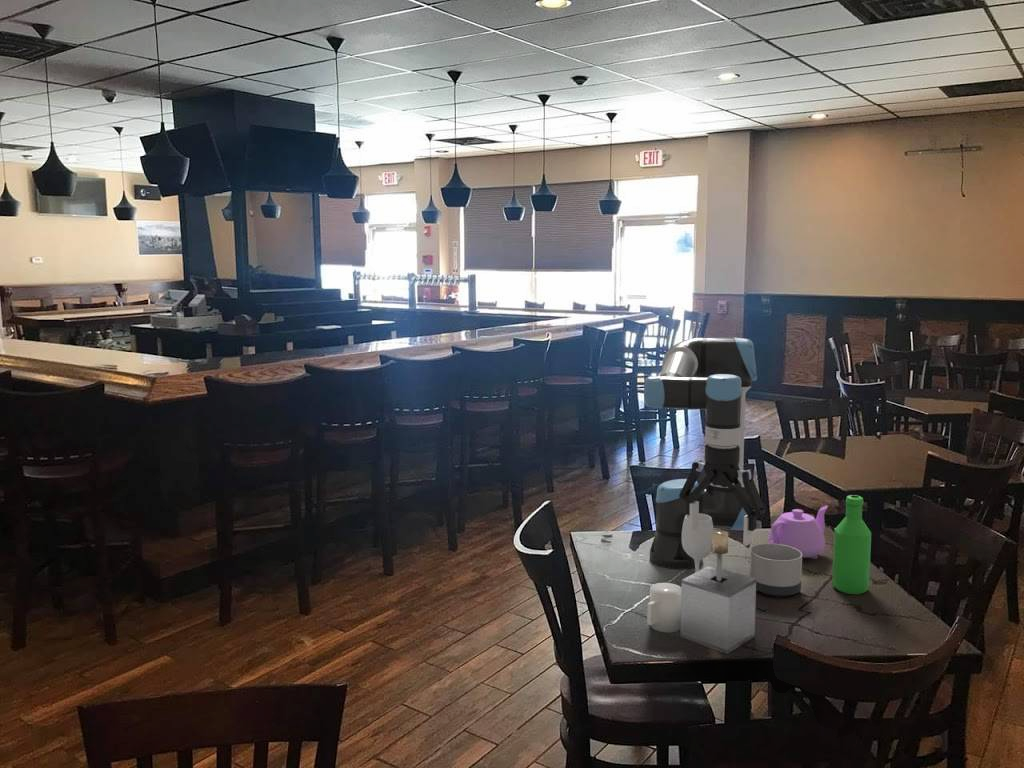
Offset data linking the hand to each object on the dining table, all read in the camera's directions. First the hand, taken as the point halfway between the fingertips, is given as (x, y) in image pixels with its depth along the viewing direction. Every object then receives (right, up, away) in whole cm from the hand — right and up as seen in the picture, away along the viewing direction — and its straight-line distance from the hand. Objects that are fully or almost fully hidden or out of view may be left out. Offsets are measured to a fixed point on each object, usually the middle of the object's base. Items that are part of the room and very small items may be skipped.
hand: (720, 536), depth 176 cm
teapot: (+38, -16, +54) cm, 68 cm away
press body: (0, -24, +3) cm, 24 cm away
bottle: (+42, -20, +29) cm, 54 cm away
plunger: (0, -22, +3) cm, 22 cm away
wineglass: (+1, -21, +26) cm, 33 cm away
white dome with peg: (-12, -23, +8) cm, 27 cm away
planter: (+22, -20, +29) cm, 41 cm away
